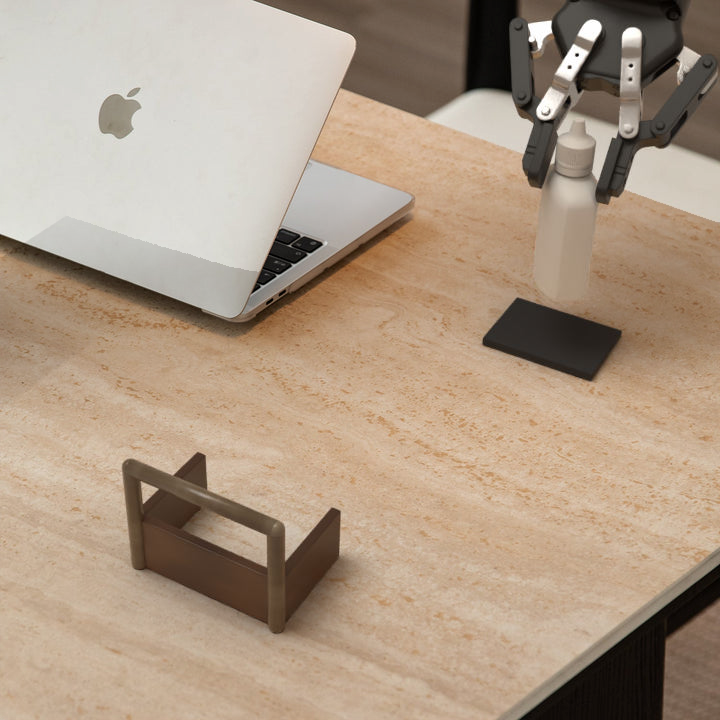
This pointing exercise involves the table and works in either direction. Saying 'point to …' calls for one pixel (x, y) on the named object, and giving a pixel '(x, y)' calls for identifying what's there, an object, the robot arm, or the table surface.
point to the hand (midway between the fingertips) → (568, 190)
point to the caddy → (213, 563)
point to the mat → (553, 338)
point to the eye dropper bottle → (567, 218)
